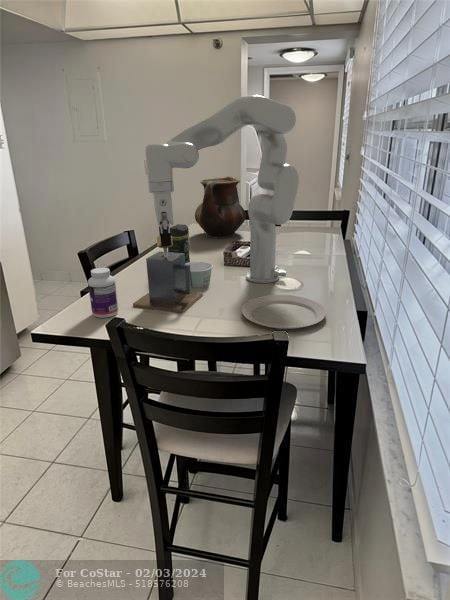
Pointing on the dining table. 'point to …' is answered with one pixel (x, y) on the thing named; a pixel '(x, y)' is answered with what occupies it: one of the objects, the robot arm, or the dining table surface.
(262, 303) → the plate
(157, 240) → the plunger
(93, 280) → the pill bottle
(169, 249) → the coffee jar
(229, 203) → the jug
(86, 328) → the dining table surface
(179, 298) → the block on wooden base
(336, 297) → the dining table surface
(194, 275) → the food container
